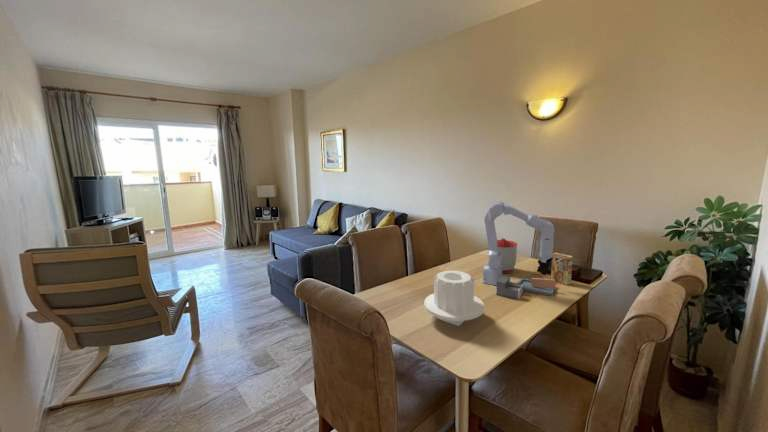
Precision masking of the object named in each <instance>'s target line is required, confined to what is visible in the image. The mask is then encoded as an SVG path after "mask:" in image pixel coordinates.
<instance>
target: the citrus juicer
mask: <svg viewBox="0 0 768 432" xmlns="http://www.w3.org/2000/svg"><path fill="white" fill-rule="evenodd" d="M497 243H498V249H499V252H500V255H501V256H502V262H501V266H502V274H510V273H513V271H514V269H515V265H516V262H517V253H518V252H517V251H518V250H517V249H518V247H517V246H518V243H517V242H516V241H512V240H506V238H504V237H503V238H501V239H497ZM486 251H489V247H487V248H486Z"/></svg>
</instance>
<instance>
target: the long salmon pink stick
mask: <svg viewBox="0 0 768 432" xmlns="http://www.w3.org/2000/svg"><path fill="white" fill-rule="evenodd" d="M530 280H531V286H532V287H539V288H549V289H555V290H556V288H557V287H556V285H557V284H556V282H555V280H553V279H551V278H539V277H531V278H530Z"/></svg>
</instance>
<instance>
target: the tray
mask: <svg viewBox="0 0 768 432" xmlns="http://www.w3.org/2000/svg"><path fill="white" fill-rule="evenodd" d="M517 283H518V284H523V292H528V293H534V294H538V295H543V296H548V297H553V295H554V292H555V290H556V289H549V288H539V287H532V286H531V279H527V278H523V277H522V278H520V279H519V280H518V282H517Z"/></svg>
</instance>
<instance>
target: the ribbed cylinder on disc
mask: <svg viewBox="0 0 768 432" xmlns="http://www.w3.org/2000/svg"><path fill="white" fill-rule="evenodd" d="M433 288H434V289H433V293H431V294H429V295H428V296H427V297H425V299H424V303H423V305H424V306H423V307H424V309H425V311H426V312H428V313H429V314H430V315H432V316H434V317H436V318H437V319H438V320H439V321H442V322H446V323H448V324H451V325H455V326H457V327H459V326H461V325H462V324H463V323H464V322H465V321H470V320H474V319H476V318H479V317H481V315H483V313H484V311H485V304H484V302H483V301H482V299H480V298H479V297H477V296H476V295H475V279H474V277H473V276H472V275H471V274H470V273H467V272H463V271H461V270H454V269H453V270H443V271H441V272H437V273H436V275H435V276H434V277H433Z"/></svg>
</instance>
